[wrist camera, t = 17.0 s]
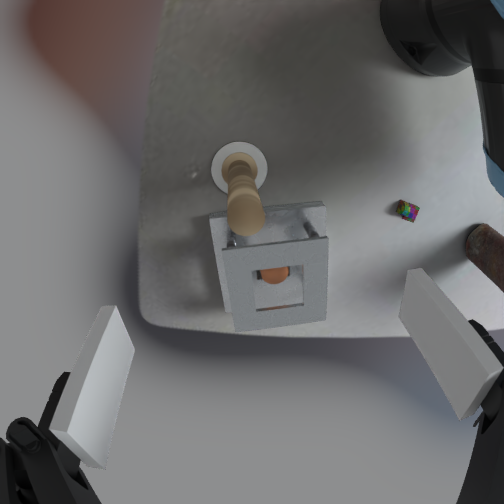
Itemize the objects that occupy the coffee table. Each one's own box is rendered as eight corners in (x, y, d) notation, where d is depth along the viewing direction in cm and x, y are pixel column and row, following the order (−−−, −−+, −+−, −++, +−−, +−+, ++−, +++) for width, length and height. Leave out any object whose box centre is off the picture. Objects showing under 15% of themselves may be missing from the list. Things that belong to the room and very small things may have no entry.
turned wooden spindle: (219, 154, 37) (212, 194, 22) (255, 150, 37) (273, 187, 22) (223, 188, 39) (220, 248, 24) (258, 184, 39) (277, 241, 24)
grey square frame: (209, 213, 41) (205, 240, 34) (321, 201, 41) (341, 224, 34) (225, 304, 48) (225, 341, 41) (321, 292, 48) (335, 326, 41)
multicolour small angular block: (392, 215, 44) (399, 222, 42) (399, 198, 42) (407, 204, 40) (412, 222, 44) (420, 229, 42) (419, 206, 43) (427, 212, 41)
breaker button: (257, 248, 44) (259, 262, 40) (283, 245, 44) (287, 258, 40) (259, 270, 45) (262, 285, 42) (284, 267, 45) (289, 282, 42)
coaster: (207, 145, 37) (207, 145, 37) (264, 138, 37) (264, 139, 37) (215, 198, 40) (215, 199, 40) (269, 191, 40) (269, 192, 40)
